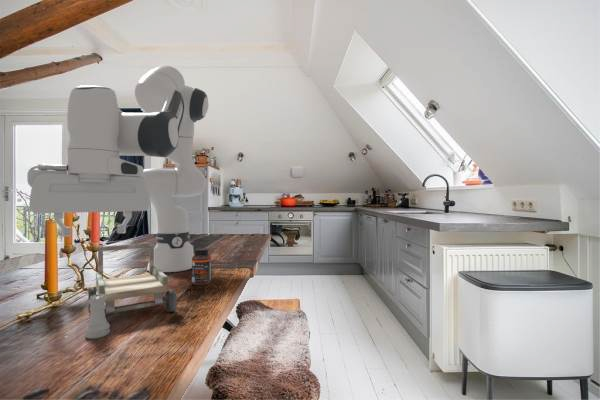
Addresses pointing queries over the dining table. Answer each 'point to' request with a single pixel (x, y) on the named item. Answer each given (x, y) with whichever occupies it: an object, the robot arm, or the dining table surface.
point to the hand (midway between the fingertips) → (95, 234)
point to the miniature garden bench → (133, 284)
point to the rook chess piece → (97, 318)
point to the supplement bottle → (201, 267)
